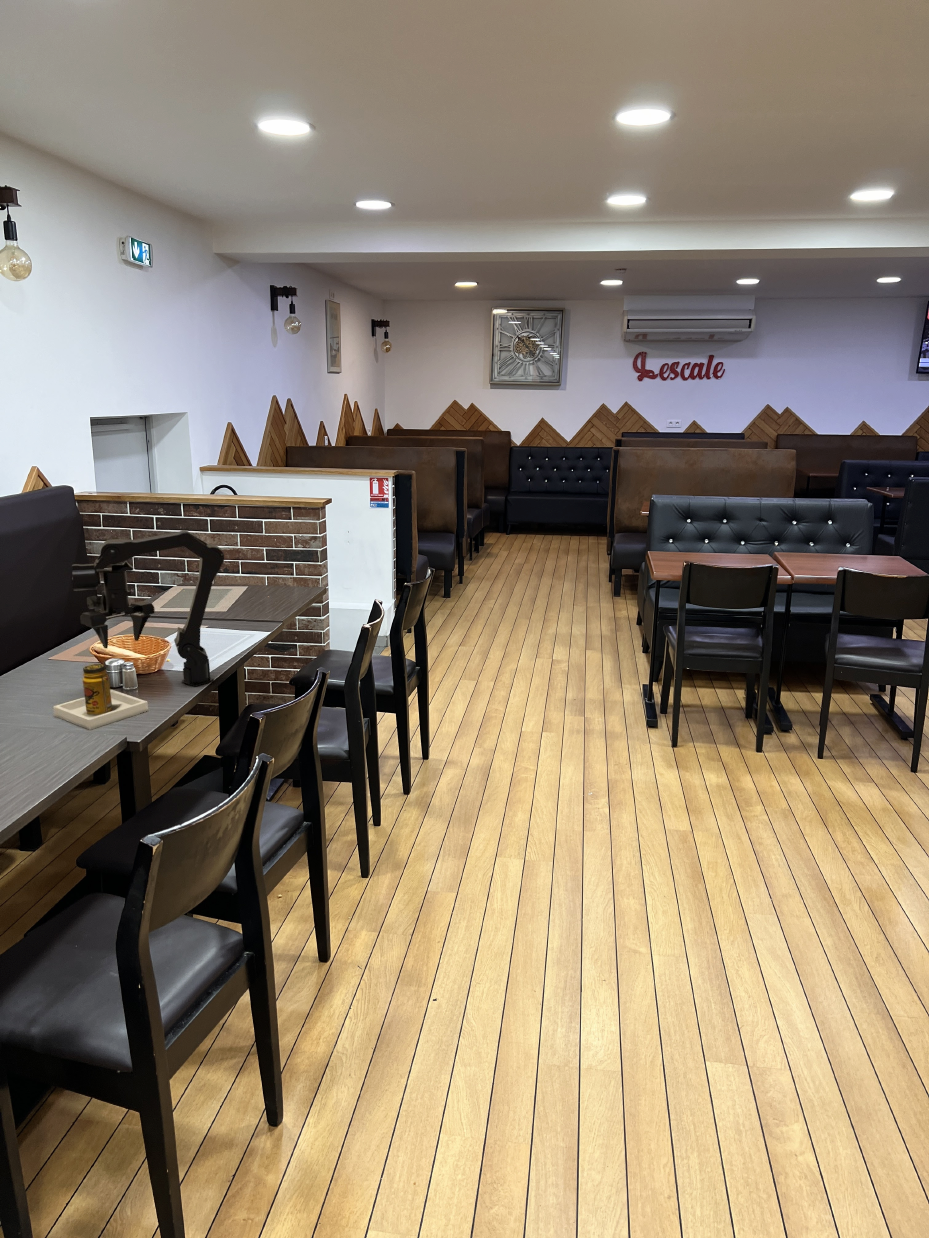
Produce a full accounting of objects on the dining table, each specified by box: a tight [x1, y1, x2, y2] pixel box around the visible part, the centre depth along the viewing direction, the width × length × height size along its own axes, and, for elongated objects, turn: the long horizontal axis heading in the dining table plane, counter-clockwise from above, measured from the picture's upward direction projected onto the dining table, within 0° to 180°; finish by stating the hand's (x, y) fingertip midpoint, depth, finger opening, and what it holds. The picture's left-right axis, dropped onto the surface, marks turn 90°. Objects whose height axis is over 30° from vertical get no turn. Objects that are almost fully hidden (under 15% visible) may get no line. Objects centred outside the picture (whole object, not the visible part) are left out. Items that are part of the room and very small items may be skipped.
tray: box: [52, 689, 149, 731], centre depth 215 cm, size 16×16×2 cm
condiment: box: [82, 663, 121, 716], centre depth 214 cm, size 7×8×12 cm
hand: (121, 644), depth 229 cm, fingers open, 9 cm apart
